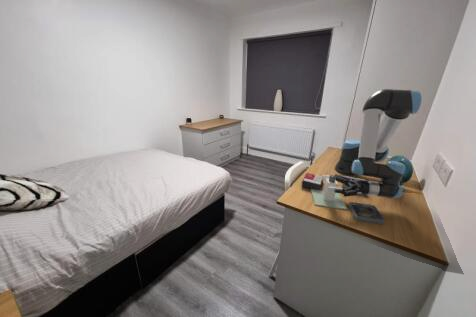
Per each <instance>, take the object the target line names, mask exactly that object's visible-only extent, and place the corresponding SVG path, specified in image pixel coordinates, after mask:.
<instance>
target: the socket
mask: <svg viewBox="0 0 476 317" xmlns="http://www.w3.org/2000/svg"><path fill="white" fill-rule="evenodd" d="M348 207H349V210H350V212H351V214H352V215H353V217H354V218H355V220H356V221H358V222H359V221H360V222H365V223H372V224H379V225H384V224H385V222H386V219H385V218H384V216H383V215H382V214H381V213H380V210H378V208H377V206H376V205H375V204H370V203H369V204H368V203H362V202H355V201H354V202H353V201H349V203H348ZM362 211H364V212H369V213H362Z"/></svg>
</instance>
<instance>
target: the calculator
mask: <svg viewBox="0 0 476 317" xmlns="http://www.w3.org/2000/svg"><path fill="white" fill-rule="evenodd" d="M322 177H323V175H318V174H314V173H308V172H307V173H306V174H305V175H304V177H303V179H302V181H301V186H302V187H303V188H304V187H305V188H308V189H314V190H322V189H321V187H322V184H323V180H322Z"/></svg>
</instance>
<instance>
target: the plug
mask: <svg viewBox="0 0 476 317" xmlns="http://www.w3.org/2000/svg"><path fill="white" fill-rule="evenodd" d="M329 176H330V177H329V179H327V178H326V180H325V181H324V185H323V190H322V191H323V194H322V196H323V199H324V200H328V201H334V197H335V193H334V192H327V189H328V187H336V188H338V185H339V184H338V183H339V182H338V181H336V176H335V174H334V175H333V174H329Z"/></svg>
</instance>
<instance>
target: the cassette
mask: <svg viewBox="0 0 476 317" xmlns="http://www.w3.org/2000/svg"><path fill="white" fill-rule="evenodd" d="M343 176H344V177H347V178H352V179H354V182H358V181H359V180H365V181H367V179H363V178H359V177H358V178H356V177H354V176H353V177H352V176H348V175H343ZM341 188H344V189H345V188H347V186H346V185H345V184H343V183H341Z"/></svg>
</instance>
